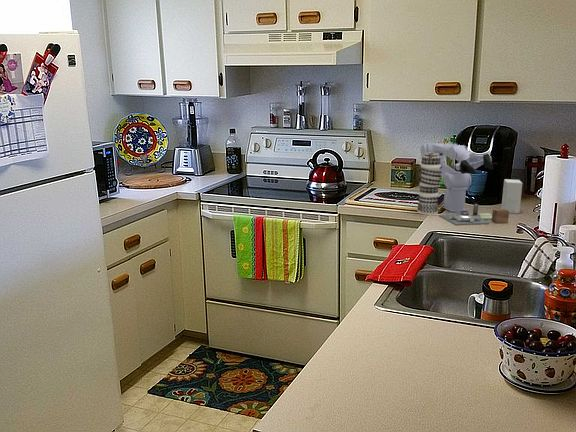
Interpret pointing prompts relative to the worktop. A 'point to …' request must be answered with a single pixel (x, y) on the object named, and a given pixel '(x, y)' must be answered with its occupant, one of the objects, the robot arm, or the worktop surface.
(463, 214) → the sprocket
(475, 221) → the slate board
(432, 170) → the decorative candle
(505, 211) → the link block
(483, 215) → the timing pad
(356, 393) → the worktop surface
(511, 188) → the small box
